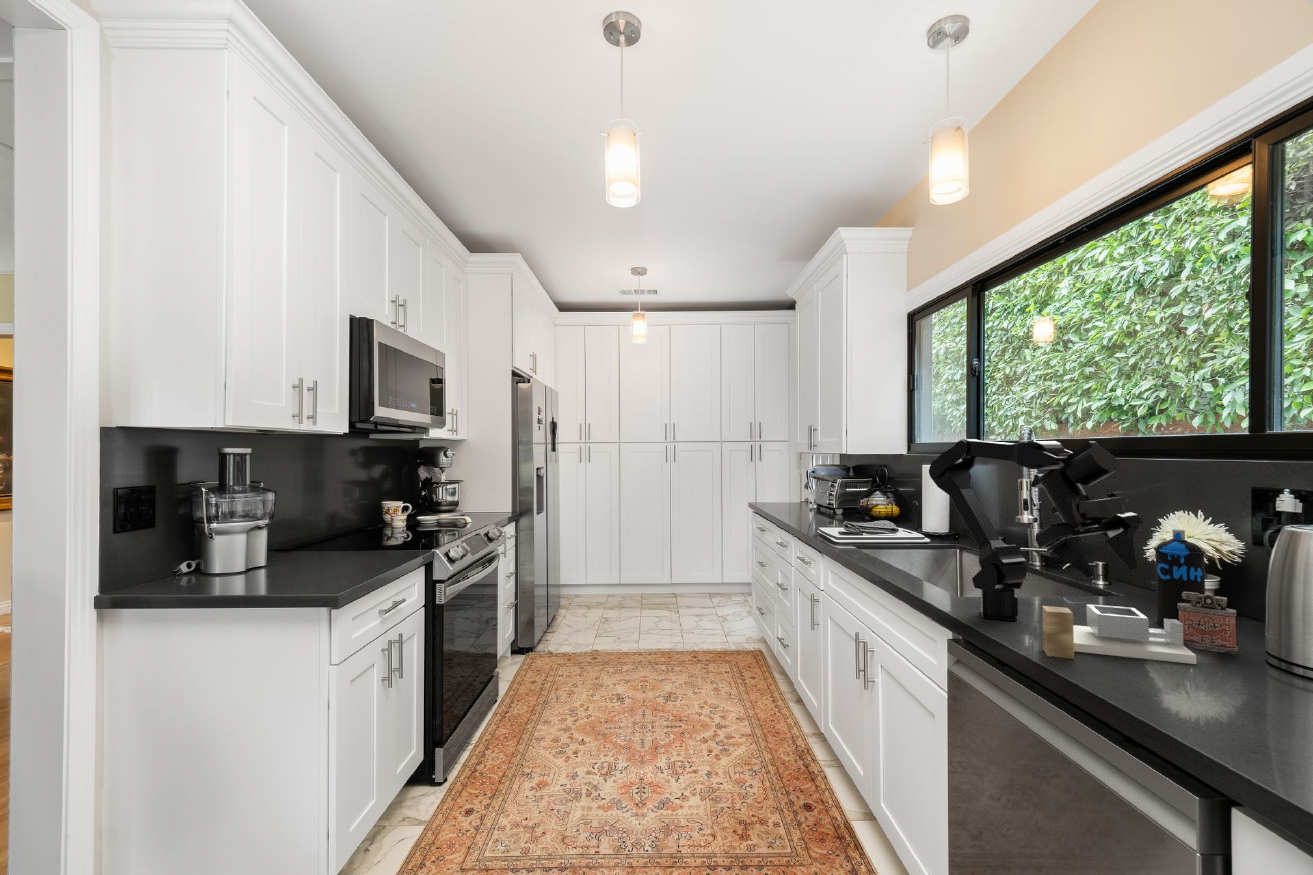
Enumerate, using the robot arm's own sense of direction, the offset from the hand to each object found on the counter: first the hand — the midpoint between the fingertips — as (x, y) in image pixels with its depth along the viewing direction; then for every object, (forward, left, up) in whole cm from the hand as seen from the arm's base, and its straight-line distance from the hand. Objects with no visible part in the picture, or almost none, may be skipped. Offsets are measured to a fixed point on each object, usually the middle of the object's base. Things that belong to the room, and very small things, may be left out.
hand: (1113, 573), depth 109 cm
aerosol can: (+17, +24, -14) cm, 33 cm away
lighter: (+16, +9, -15) cm, 24 cm away
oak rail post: (-10, -5, -14) cm, 18 cm away
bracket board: (+1, +4, -14) cm, 15 cm away
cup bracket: (+4, +4, -13) cm, 14 cm away
